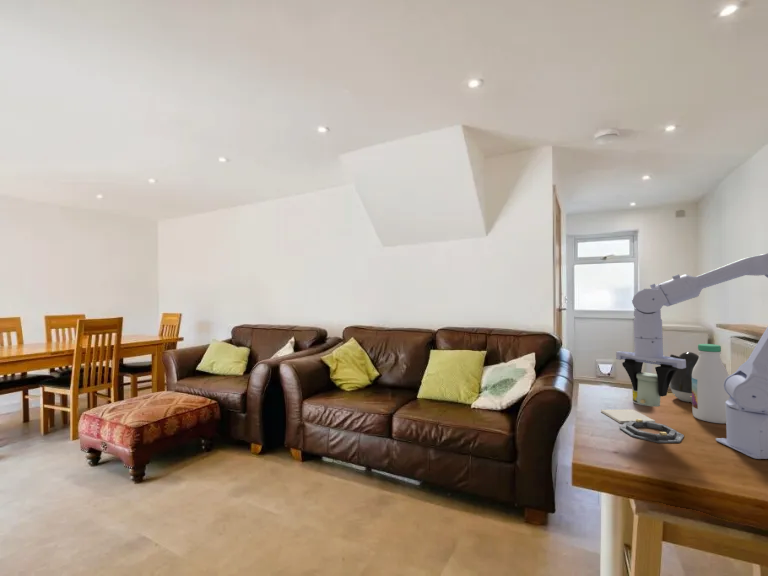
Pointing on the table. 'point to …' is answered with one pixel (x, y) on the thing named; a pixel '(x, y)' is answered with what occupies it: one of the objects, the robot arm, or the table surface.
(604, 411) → the plate
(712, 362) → the milk bottle
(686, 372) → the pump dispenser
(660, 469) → the table surface
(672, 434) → the bayonet collar
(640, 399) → the pale green jar
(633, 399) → the supplement bottle
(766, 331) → the robot arm
